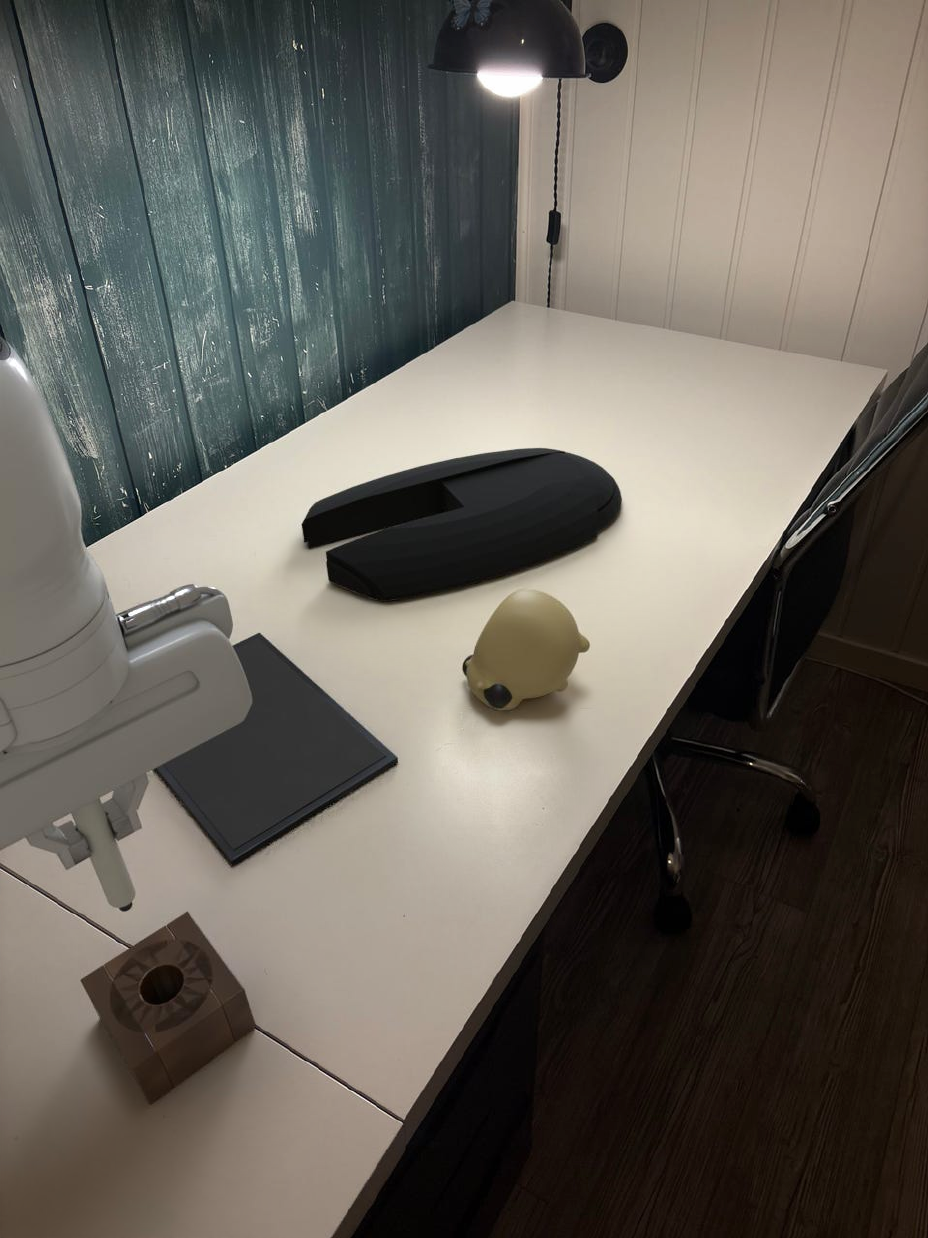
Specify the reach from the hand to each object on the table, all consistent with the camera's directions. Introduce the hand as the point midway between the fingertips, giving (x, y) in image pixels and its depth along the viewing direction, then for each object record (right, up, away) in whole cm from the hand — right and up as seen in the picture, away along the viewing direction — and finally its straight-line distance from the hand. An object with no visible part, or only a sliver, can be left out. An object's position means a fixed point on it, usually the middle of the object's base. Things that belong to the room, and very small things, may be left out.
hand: (99, 842), depth 52 cm
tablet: (0, +2, +34) cm, 34 cm away
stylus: (0, -5, +4) cm, 6 cm away
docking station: (+21, +25, +63) cm, 71 cm away
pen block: (0, -16, +13) cm, 20 cm away
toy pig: (+26, +6, +39) cm, 48 cm away
